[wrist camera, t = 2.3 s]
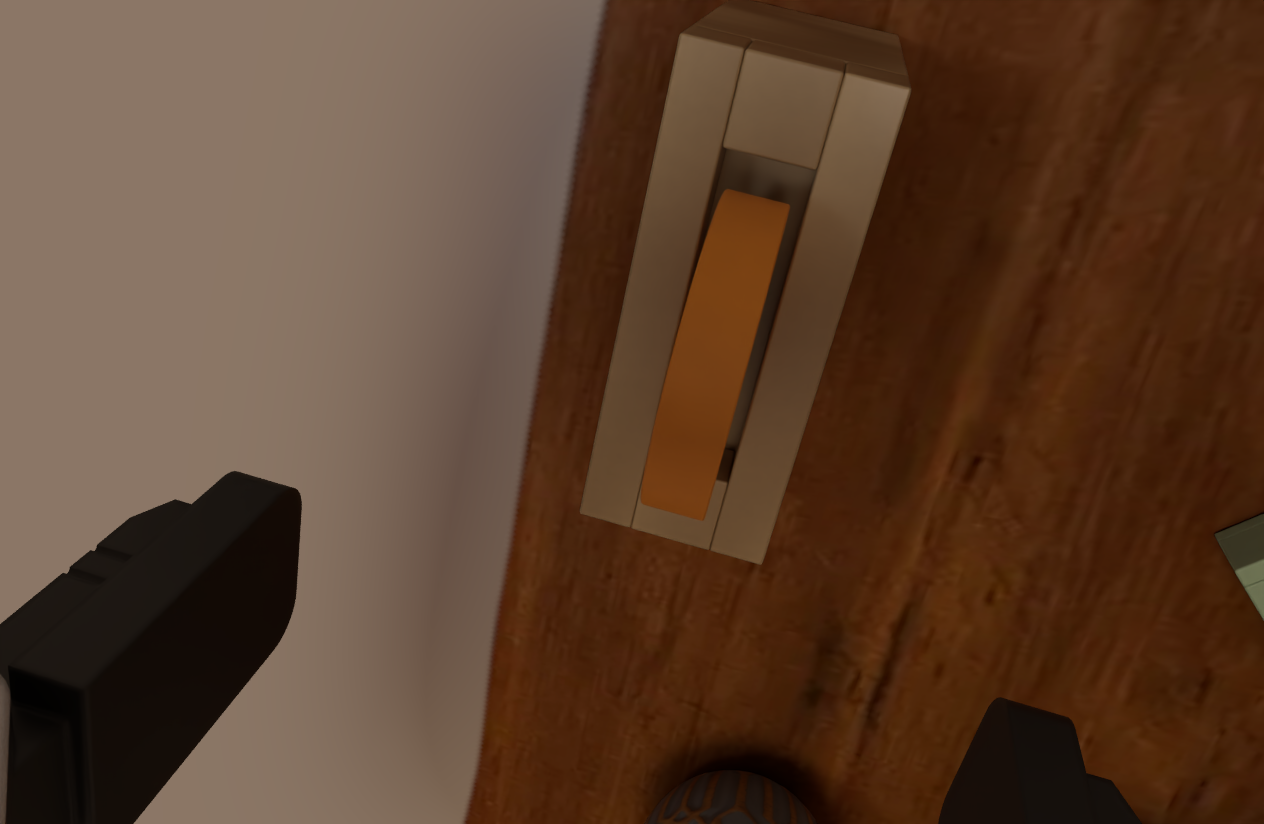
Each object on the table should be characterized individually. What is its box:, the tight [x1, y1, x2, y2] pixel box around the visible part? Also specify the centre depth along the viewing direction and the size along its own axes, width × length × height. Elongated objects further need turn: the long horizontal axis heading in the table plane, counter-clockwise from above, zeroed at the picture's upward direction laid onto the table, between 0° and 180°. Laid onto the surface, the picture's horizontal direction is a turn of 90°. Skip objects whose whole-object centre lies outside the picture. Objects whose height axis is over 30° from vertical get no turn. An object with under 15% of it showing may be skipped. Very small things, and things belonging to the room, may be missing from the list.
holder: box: [580, 0, 911, 564], centre depth 25 cm, size 4×10×8 cm, turn 169°
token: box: [641, 189, 790, 521], centre depth 20 cm, size 1×6×6 cm, turn 169°
